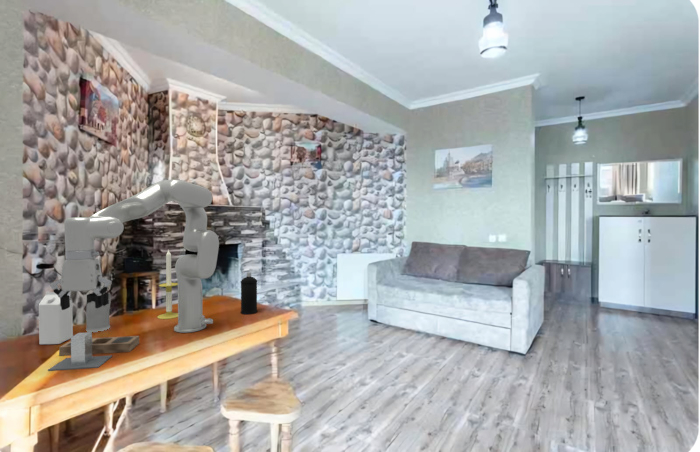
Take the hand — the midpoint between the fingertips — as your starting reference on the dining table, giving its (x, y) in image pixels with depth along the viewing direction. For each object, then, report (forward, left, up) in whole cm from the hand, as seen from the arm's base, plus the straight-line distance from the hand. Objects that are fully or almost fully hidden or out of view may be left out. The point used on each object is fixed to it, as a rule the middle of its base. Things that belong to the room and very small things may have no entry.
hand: (82, 307), depth 113 cm
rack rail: (0, -12, -18) cm, 21 cm away
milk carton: (+21, -24, -18) cm, 37 cm away
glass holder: (+13, -40, -18) cm, 46 cm away
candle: (-10, -53, -18) cm, 57 cm away
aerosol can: (-47, -54, -18) cm, 73 cm away
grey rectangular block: (0, 0, -18) cm, 18 cm away
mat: (0, 0, -18) cm, 18 cm away
